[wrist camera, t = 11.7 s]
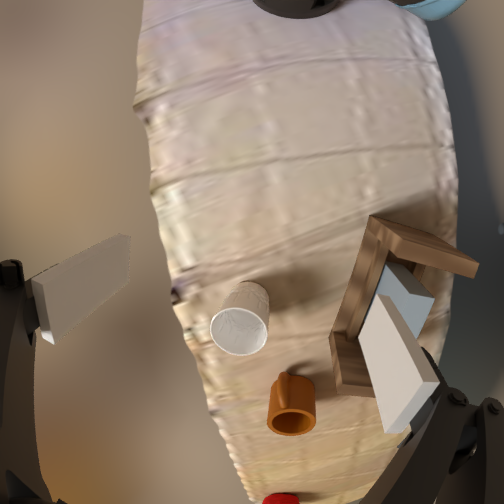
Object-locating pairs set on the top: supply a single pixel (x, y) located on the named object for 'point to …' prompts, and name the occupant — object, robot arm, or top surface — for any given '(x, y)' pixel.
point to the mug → (292, 405)
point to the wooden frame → (365, 281)
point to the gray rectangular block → (404, 295)
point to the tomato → (281, 499)
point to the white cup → (242, 320)
